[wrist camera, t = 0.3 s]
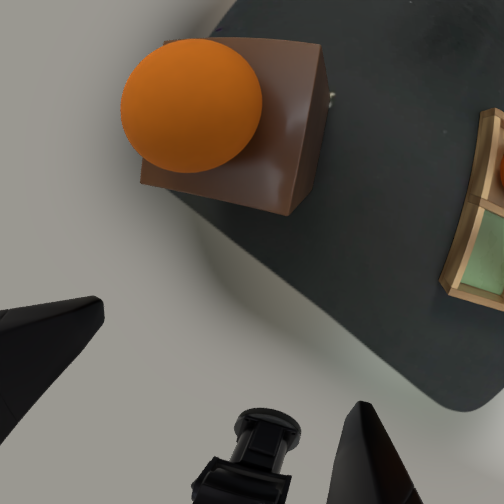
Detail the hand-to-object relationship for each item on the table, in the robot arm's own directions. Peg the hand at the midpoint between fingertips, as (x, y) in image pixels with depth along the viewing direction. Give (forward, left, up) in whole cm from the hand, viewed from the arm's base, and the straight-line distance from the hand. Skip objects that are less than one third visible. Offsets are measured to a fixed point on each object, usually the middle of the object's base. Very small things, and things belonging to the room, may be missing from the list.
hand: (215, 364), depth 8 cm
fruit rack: (+7, -19, -15) cm, 25 cm away
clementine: (+7, +3, -5) cm, 9 cm away
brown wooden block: (+7, +3, -15) cm, 17 cm away
